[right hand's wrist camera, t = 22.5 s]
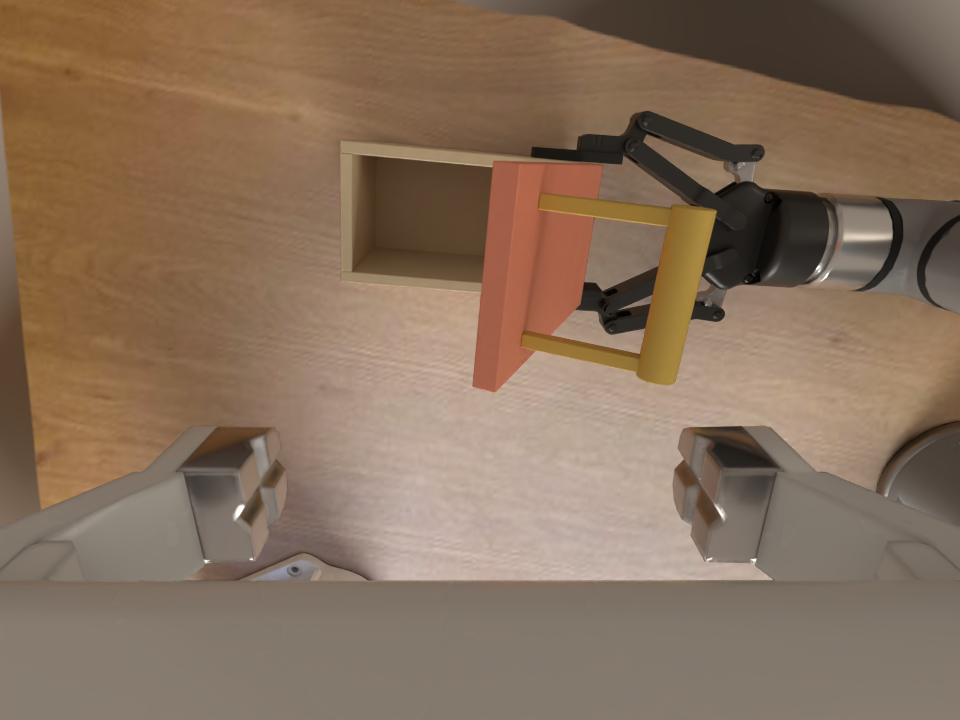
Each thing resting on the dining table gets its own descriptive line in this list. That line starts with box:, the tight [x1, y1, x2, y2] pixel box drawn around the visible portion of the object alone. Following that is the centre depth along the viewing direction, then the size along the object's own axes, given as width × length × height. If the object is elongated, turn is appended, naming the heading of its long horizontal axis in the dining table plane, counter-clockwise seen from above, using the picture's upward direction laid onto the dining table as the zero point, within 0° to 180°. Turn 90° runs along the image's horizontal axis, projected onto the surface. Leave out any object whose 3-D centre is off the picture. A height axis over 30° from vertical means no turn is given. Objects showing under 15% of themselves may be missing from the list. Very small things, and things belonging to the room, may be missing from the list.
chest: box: [340, 140, 590, 293], centre depth 43 cm, size 17×10×11 cm, turn 85°
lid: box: [473, 161, 717, 392], centre depth 29 cm, size 18×10×8 cm
